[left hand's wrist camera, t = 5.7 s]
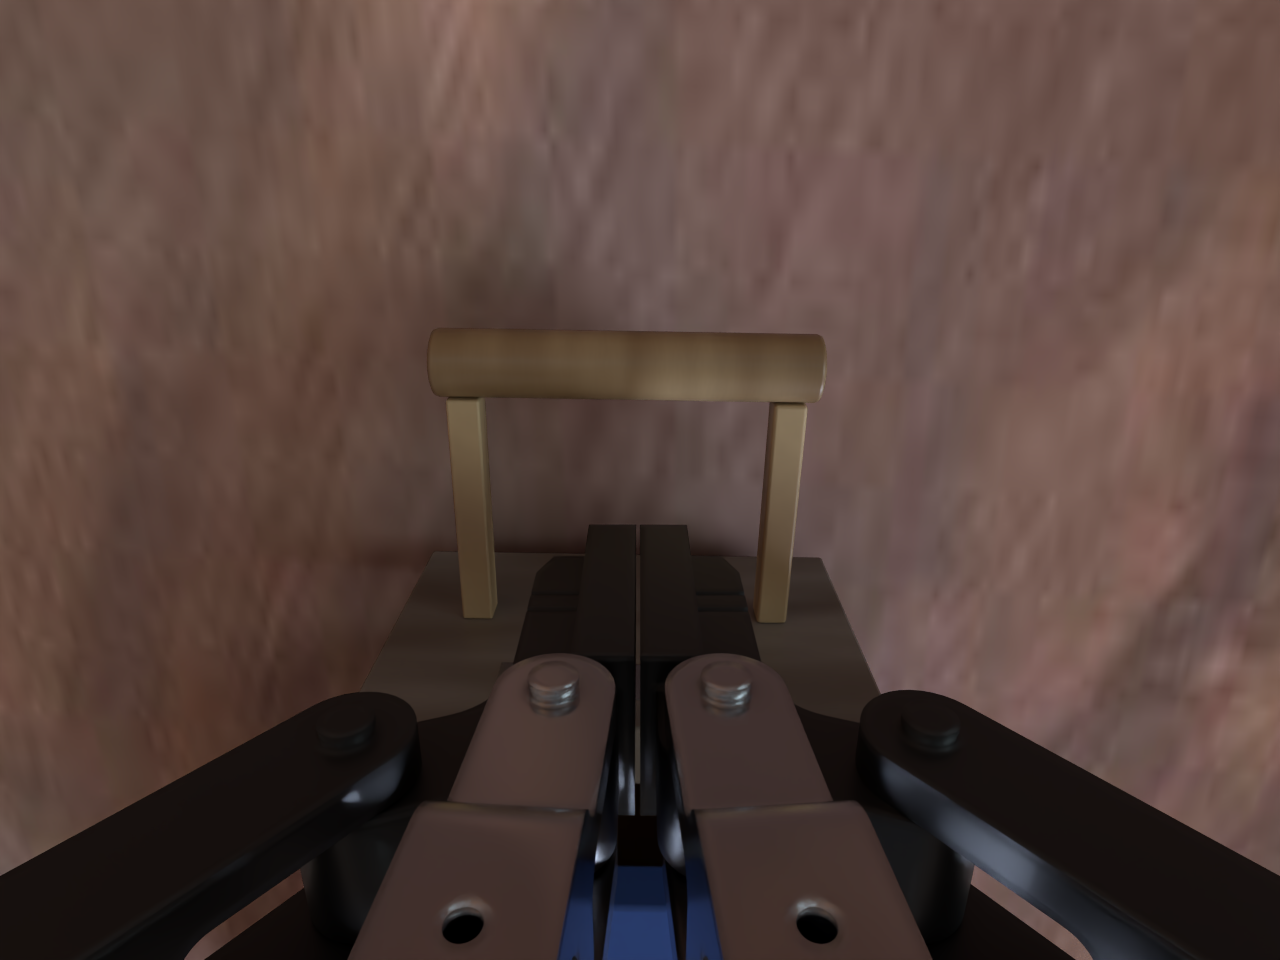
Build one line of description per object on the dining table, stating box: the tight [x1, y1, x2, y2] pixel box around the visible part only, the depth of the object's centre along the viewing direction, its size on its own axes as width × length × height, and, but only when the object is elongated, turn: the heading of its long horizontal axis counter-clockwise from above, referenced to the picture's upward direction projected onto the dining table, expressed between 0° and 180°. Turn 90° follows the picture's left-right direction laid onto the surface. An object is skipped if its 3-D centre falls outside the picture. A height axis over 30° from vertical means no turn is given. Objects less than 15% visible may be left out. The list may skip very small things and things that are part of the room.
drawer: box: [360, 328, 881, 866], centre depth 18 cm, size 23×9×6 cm, turn 179°
